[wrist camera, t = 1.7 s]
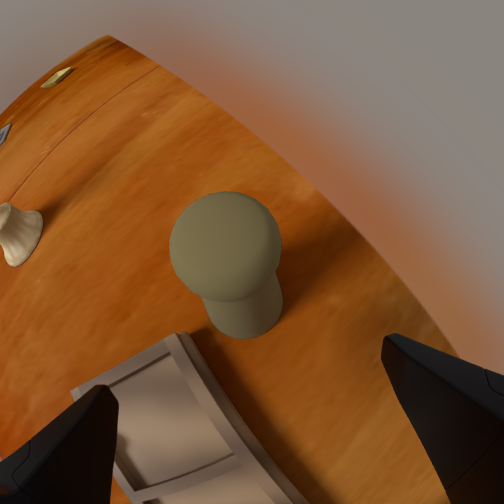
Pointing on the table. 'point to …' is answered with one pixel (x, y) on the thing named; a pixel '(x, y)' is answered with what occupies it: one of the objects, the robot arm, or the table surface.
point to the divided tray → (185, 434)
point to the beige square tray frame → (56, 78)
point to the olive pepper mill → (230, 261)
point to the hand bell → (19, 233)
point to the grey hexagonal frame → (4, 133)
